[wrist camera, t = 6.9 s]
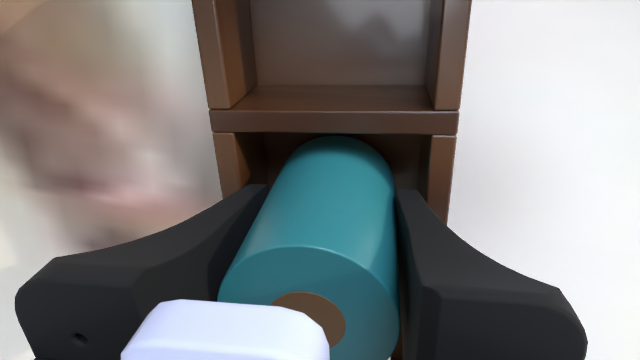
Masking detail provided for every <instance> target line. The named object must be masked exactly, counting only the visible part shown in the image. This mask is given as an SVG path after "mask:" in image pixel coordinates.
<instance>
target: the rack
mask: <svg viewBox="0 0 640 360" xmlns="http://www.w3.org/2000/svg"><path fill="white" fill-rule="evenodd" d="M191 1H192V7H193V13H194V20H195V26H196V32H197V38H198V45H199V51H200V57H201V64H202V70H203V76H204V83H205V89H206V95H207V102H208V107H209V109H210V110H209V116H210V122H211V128H212V131H213V140H214V146H215V153H216V159H217V165H218V172H219V178H220V184H221V190H222V197H223V199H225V198H227V197H228V196H230V195H231V194H233V193H235V192H236V191H238V190H240V189H241V188H243V187H245V186H247V185H249V184H265V185H268V190H269V192H270V190H271V188H272V187H273V185H274V183H275V181H276V179H277V177H278V175H279V173H280V171H281V170H282V168H283V166H284V164H285V162H286V161H287V159H288V158H289V156H290V155H291V154H292V153H293V152H294V151H295V150H296V149H297V148H298V147H299V146H301V145H303V144H304V143H306V142H308V141H310V140H312V139H316V138H319V137H324V136H335V135H336V136H345V137H350V138H354V139H357V140H360V141H362V142H364V143H366V144H368V145H369V146H371V147H372V148H374V149H375V150H376V151H377V152H378V153H379V154H380V155H381V156H382V157H383V158H384V159H385V161H386V162H387V163H388V165H389V167H390V169H391V171H392V173H393V176H394V180H395V186H396V189H416V190H417V191H418V192H419V193H420V195H421V196H422V198H423V199H424V200H425V202H426V203H427V204H428V205H429V207H430V208H431V209H432V210H433V212H434V213H435V214H436V215H437V216H438V217H439V218H440V219H441V221H442V222H443V223H444V224H445V225H446V226H447V220H448V211H449V202H450V193H451V184H452V175H453V166H454V157H455V148H456V139H457V137H456V134H457V130H458V121H459V111H458V110H459V108H460V102H461V93H462V84H463V75H464V66H465V57H466V48H467V39H468V30H469V21H470V12H471V3H472V0H191ZM400 320H401V319H400ZM391 360H403V348H402V328H401V330H400V336H399V340H398V343H397V346H396V348H395V349H394V351H393V353H392V355H391Z"/></svg>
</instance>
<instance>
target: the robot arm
mask: <svg viewBox="0 0 640 360" xmlns="http://www.w3.org/2000/svg"><path fill="white" fill-rule="evenodd" d="M268 194H269V190H268V185H265V184H249V185H247V186H245V187H243V188H241V189H240V190H238V191H236V192H235V193H233V194H231V195H230V196H228V197H227V198H225V199H223V200H222V201H220V202H218V203H217V204H215V205H213V206H212V207H210V208H208V209H206V210H204V211H202V212H201V213H199V214H197V215H195V216H193V217H191V218H190V219H188V220H186V221H184V222H181V223H179V224H177V225H175V226H172V227H170V228H168V229H165V230H163V231H160V232H158V233H155V234H152V235H149V236H146V237H143V238H140V239H137V240H134V241H131V242H128V243H124V244H120V245H117V246H113V247H109V248H104V249H100V250H95V251H91V252H85V253H79V254H73V255H68V256H62V257H55V258H53V259H52V260H51V261H50V262H49V263H48V264H46V265H45V266H44V267H43V268H42V269H41V270H40V271H39V272H37V273H36V274H35V275H34V276H33V277H32V278H31V279H29V280H28V281H27V282H26V283H25V284H24V285H23V286H22V287H20V288H19V290H18V292H17V294H16V296H15V311H16V315H17V318H18V321H19V323H20V325H21V327H22V330H23V332H24V334H25V336H26V338H27V340H28V342H29V344H30V346H31V349H32V351H33V353H34V355H35V357H36V358H35V359H34V360H330V355H329V344H328V341H327V339H326V336H325V334H324V331H323V329H322V327H321V326H319V325H318V324H317V323H316V322H314V321H313V320H312V319H311V318H309V317H308V316H307V315H306V314H304V313H302V312H298V311H295V310H291V309H287V308H284V307H279V306H265V305H252V304H238V303H225V302H217V296H218V292H219V288H220V285H221V283H222V281H223V279H224V277H225V275H226V273H227V271H228V269H229V267H230V265H231V264H232V262H233V260H234V258H235V256H236V254H237V252H238V250H239V249H240V247H241V245H242V243H243V241H244V239H245V237H246V235H247V233H248V232H249V230H250V228H251V226H252V224H253V222H254V220H255V218H256V217H257V215H258V213H259V211H260V209H261V207H262V205H263V203H264V202H265V200H266V198H267V196H268ZM396 224H397V239H398V266H399V293H400V319H401V328H402V348H403V360H584V359H585V356H586V352H587V344H588V341H587V337H586V333H585V329H584V328H583V326H582V324H581V322H580V320H579V318H578V317H577V315H576V313H575V311H574V310H573V308H572V307H571V305H570V303H569V302H568V301H567V299H566V298H565V296H564V295H563V294H562V292H561V291H560V289H559V288H557V287H554V286H551V285H548V284H546V283H543V282H540V281H537V280H535V279H532V278H529V277H527V276H524V275H522V274H520V273H518V272H516V271H513V270H511V269H509V268H507V267H505V266H503V265H501V264H499V263H497V262H496V261H494V260H492V259H490V258H489V257H487V256H485V255H484V254H482V253H480V252H479V251H477V250H476V249H474V248H473V247H472V246H470V245H469V244H468V243H466V242H465V241H464V240H462V239H461V238H460V237H458V236H457V235H456V234H455V233H454V232H453V231H452V230H451V229H449V228H448V227H447V226H446V225H445V224H444V223H443V222H442V221H441V219H440V218H439V217H438V216H437V215H436V214H435V213H434V212H433V210H432V209H431V208H430V207H429V205H428V204H427V203H426V202H425V200H424V199H423V198H422V196H421V195H420V193H419V192H418V191H417V190H416V189H396Z"/></svg>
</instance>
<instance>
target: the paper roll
mask: <svg viewBox="0 0 640 360" xmlns="http://www.w3.org/2000/svg"><path fill="white" fill-rule="evenodd" d="M217 302H225V303H238V304H252V305H265V306H279V307H284V308H287V309H291V310H295V311H298V312H302V313H304V314H306V315H307V316H308V317H309V318H311V319H312V320H313V321H314V322H316V323H317V324H318V325H319V326H321V327H322V329H323V331H324V334H325V336H326V339H327V341H328V344H329V355H330V360H388V359H389V357H390V356H391V355H392V353H393V351H394V349H395V348H396V346H397V343H398V340H399V336H400V330H401V320H400V293H399V266H398V239H397V224H396V186H395V180H394V176H393V173H392V171H391V169H390V167H389V165H388V163H387V162H386V161H385V159H384V158H383V157H382V156H381V155H380V154H379V153H378V152H377V151H376V150H375V149H374V148H372V147H371V146H369V145H368V144H366V143H364V142H362V141H360V140H357V139H354V138H350V137H345V136H336V135H335V136H324V137H319V138H316V139H312V140H310V141H308V142H306V143H304V144H303V145H301V146H299V147H298V148H297V149H296V150H295V151H294V152H293V153H292V154H291V155H290V156H289V158H288V159H287V161H286V162H285V164H284V166H283V168H282V170H281V171H280V173H279V175H278V177H277V179H276V181H275V183H274V185H273V187H272V188H271V190H270V192H269V194H268V196H267V198H266V200H265V202H264V203H263V205H262V207H261V209H260V211H259V213H258V215H257V217H256V218H255V220H254V222H253V224H252V226H251V228H250V230H249V232H248V233H247V235H246V237H245V239H244V241H243V243H242V245H241V247H240V249H239V250H238V252H237V254H236V256H235V258H234V260H233V262H232V264H231V265H230V267H229V269H228V271H227V273H226V275H225V277H224V279H223V281H222V283H221V285H220V288H219V292H218V296H217Z"/></svg>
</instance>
